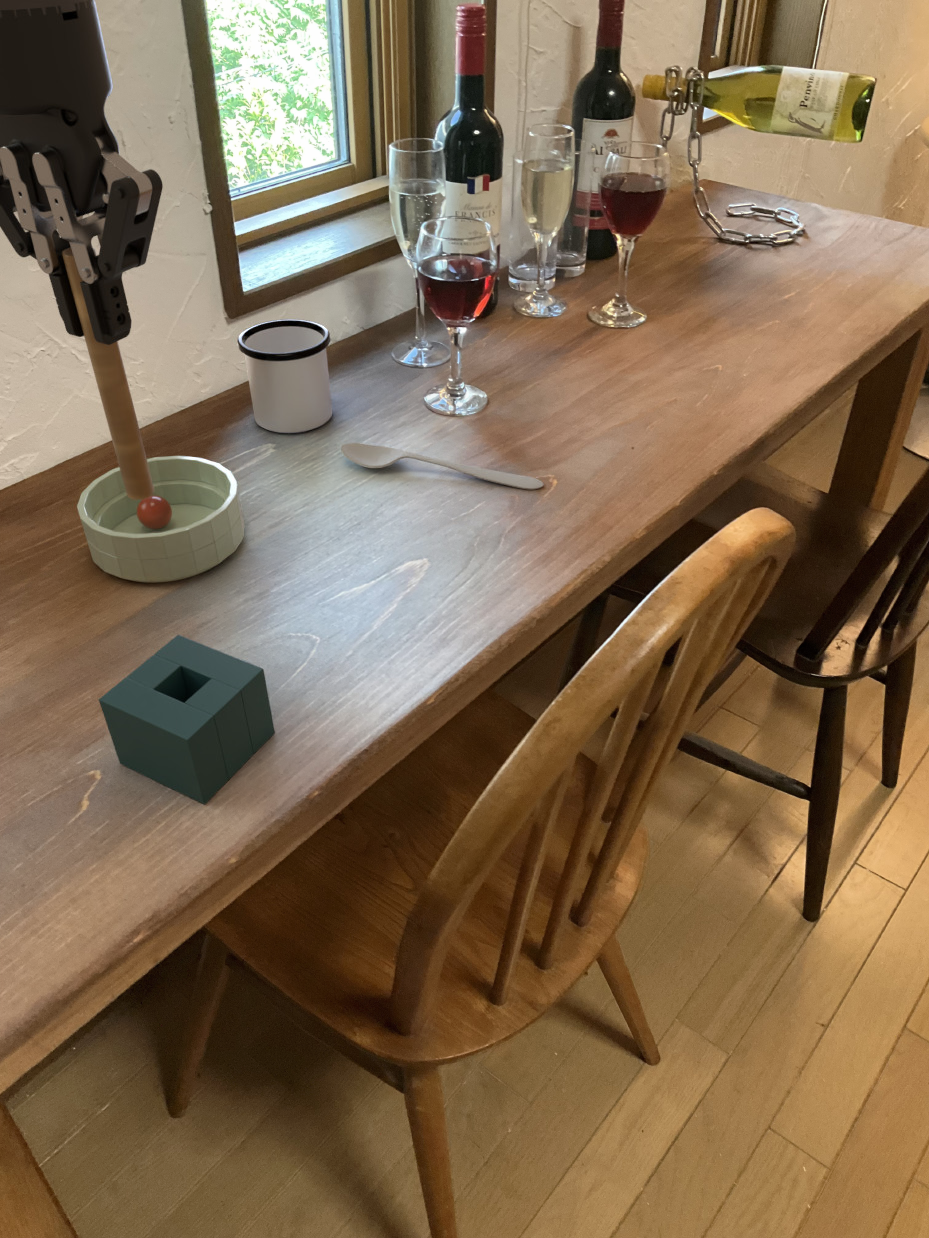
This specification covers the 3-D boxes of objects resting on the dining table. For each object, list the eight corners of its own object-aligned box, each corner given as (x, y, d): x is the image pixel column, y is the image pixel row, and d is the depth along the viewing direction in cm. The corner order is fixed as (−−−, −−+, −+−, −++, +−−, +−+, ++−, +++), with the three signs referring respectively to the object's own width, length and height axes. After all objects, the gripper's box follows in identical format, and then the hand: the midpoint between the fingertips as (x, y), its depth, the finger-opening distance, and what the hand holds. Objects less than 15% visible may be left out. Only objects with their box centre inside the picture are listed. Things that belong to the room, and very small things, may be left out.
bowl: (175, 604, 78) (163, 554, 75) (59, 559, 83) (43, 510, 80) (275, 526, 87) (268, 478, 84) (165, 489, 92) (154, 443, 89)
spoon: (349, 449, 98) (347, 435, 97) (547, 475, 94) (548, 461, 93) (334, 469, 95) (332, 454, 94) (538, 497, 91) (539, 482, 90)
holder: (204, 805, 62) (187, 740, 58) (119, 763, 65) (98, 699, 61) (275, 732, 67) (263, 668, 63) (193, 697, 70) (178, 633, 66)
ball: (158, 539, 84) (151, 510, 83) (133, 530, 86) (125, 501, 84) (182, 522, 87) (175, 494, 85) (157, 514, 88) (150, 485, 86)
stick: (141, 502, 64) (77, 258, 53) (121, 495, 64) (54, 252, 54) (160, 490, 65) (101, 248, 55) (140, 483, 65) (79, 243, 55)
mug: (310, 444, 99) (300, 361, 93) (232, 428, 102) (218, 346, 96) (363, 396, 108) (357, 317, 102) (290, 382, 110) (280, 305, 105)
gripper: (-147, -6, 47) (-29, 335, 58) (49, 11, 41) (139, 384, 52) (-19, -22, 52) (68, 295, 63) (171, -9, 46) (230, 336, 57)
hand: (100, 334), depth 58 cm, fingers closed on stick, 2 cm apart
